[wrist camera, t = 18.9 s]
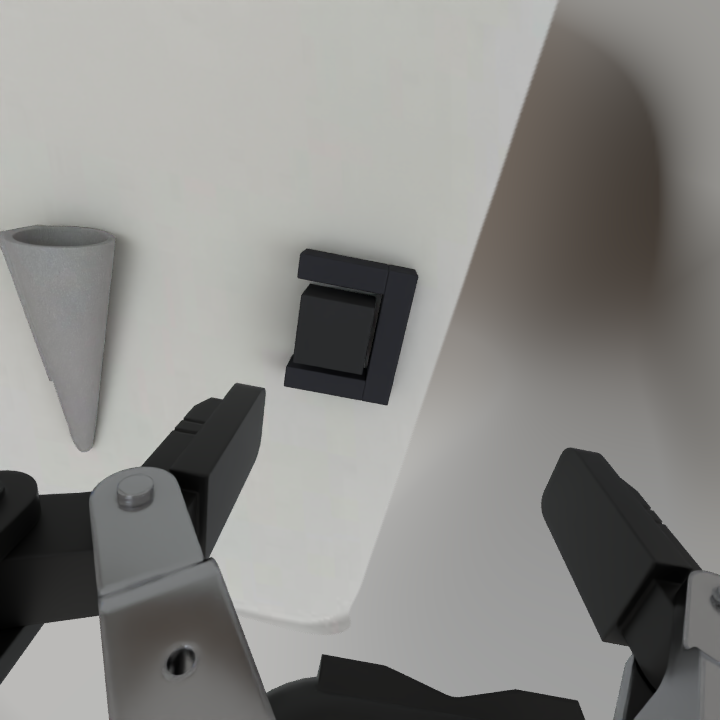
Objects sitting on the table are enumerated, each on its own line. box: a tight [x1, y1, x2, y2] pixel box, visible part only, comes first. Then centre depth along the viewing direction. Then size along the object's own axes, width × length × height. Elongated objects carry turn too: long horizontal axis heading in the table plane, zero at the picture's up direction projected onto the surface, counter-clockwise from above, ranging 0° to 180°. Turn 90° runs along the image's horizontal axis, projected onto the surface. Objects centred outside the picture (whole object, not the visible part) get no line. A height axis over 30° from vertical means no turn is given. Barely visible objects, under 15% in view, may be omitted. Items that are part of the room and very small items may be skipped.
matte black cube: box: [293, 284, 376, 375], centre depth 30 cm, size 5×5×4 cm
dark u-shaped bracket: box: [284, 249, 418, 405], centre depth 30 cm, size 10×8×2 cm
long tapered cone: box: [0, 225, 116, 452], centre depth 31 cm, size 6×6×19 cm
